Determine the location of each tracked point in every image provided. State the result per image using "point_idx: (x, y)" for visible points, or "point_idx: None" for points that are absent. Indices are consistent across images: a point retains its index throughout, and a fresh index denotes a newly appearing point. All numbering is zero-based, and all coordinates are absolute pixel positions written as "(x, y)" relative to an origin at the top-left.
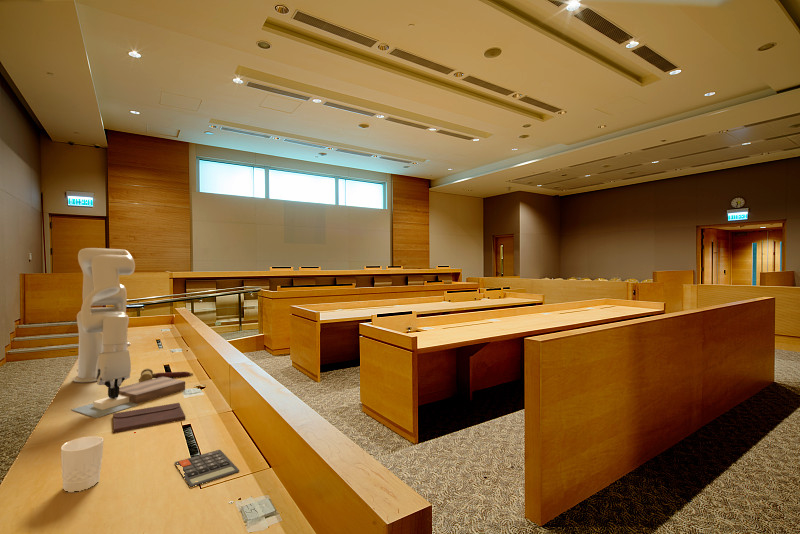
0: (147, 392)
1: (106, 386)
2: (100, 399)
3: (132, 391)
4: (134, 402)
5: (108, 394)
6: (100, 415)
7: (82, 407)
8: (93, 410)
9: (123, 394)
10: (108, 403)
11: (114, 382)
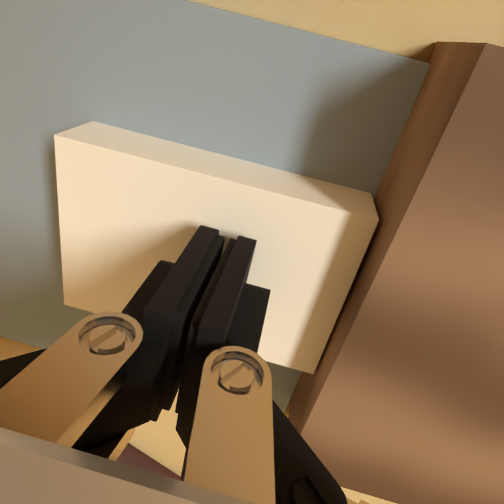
0: (396, 496)
1: (86, 317)
2: (134, 163)
3: (390, 391)
4: (295, 391)
5: (156, 274)
6: (25, 338)
7: (23, 17)
8: (46, 214)
9: (355, 291)
10: (117, 311)
11: (196, 414)
